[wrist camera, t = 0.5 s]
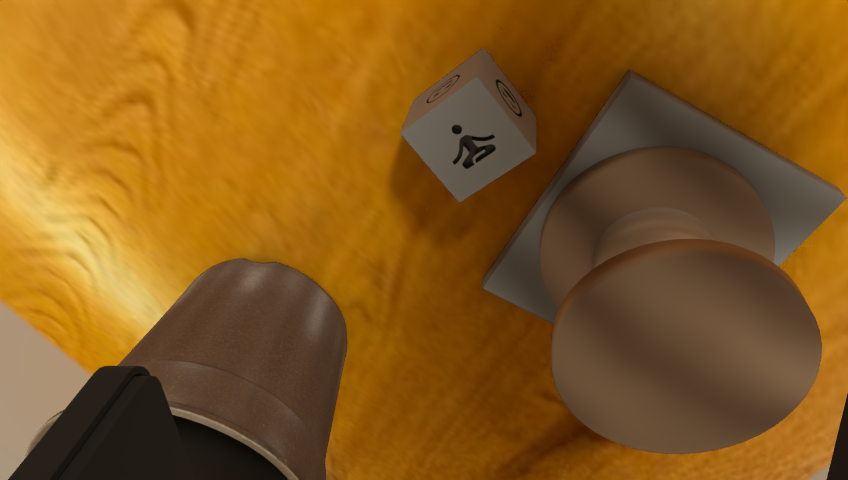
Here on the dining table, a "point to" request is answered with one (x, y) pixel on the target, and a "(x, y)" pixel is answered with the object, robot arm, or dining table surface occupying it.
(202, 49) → the dining table surface
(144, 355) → the plant pot
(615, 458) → the dining table surface
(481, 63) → the dice cube
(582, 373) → the bobbin
